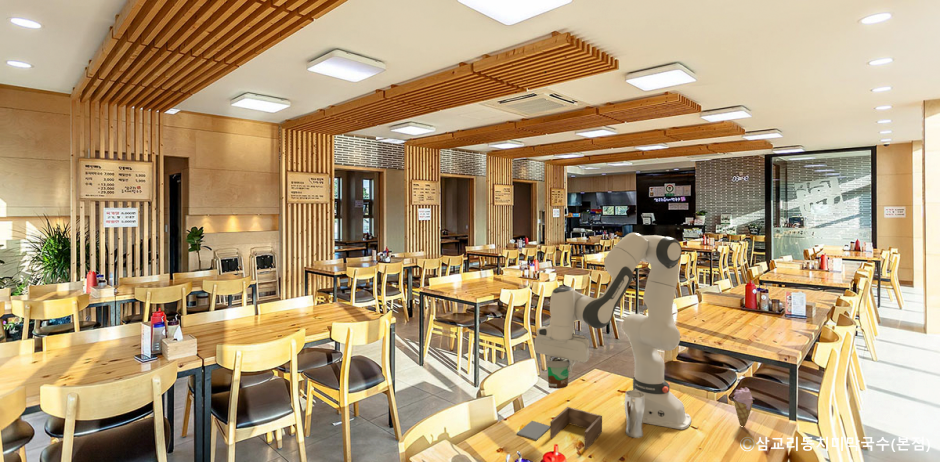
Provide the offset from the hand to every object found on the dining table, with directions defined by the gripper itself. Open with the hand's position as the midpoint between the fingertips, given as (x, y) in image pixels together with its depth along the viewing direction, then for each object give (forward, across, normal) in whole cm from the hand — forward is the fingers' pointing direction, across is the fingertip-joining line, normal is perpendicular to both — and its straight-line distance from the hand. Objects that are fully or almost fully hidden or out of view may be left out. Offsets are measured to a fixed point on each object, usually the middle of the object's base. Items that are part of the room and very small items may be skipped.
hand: (560, 369), depth 166 cm
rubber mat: (+24, +9, +3) cm, 26 cm away
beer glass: (+24, -22, -16) cm, 36 cm away
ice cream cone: (+23, -55, -44) cm, 74 cm away
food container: (+6, -1, 0) cm, 6 cm away
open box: (+24, -5, -3) cm, 25 cm away
